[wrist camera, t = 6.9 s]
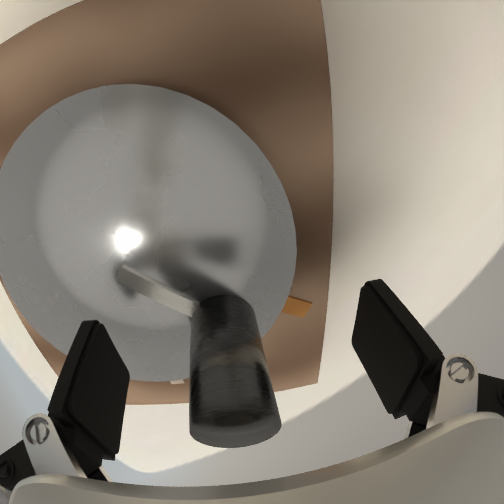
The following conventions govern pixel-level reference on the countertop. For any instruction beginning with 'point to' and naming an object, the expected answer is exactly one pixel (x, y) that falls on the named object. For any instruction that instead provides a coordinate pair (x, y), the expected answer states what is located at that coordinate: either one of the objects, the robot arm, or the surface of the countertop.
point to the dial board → (221, 99)
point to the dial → (154, 246)
